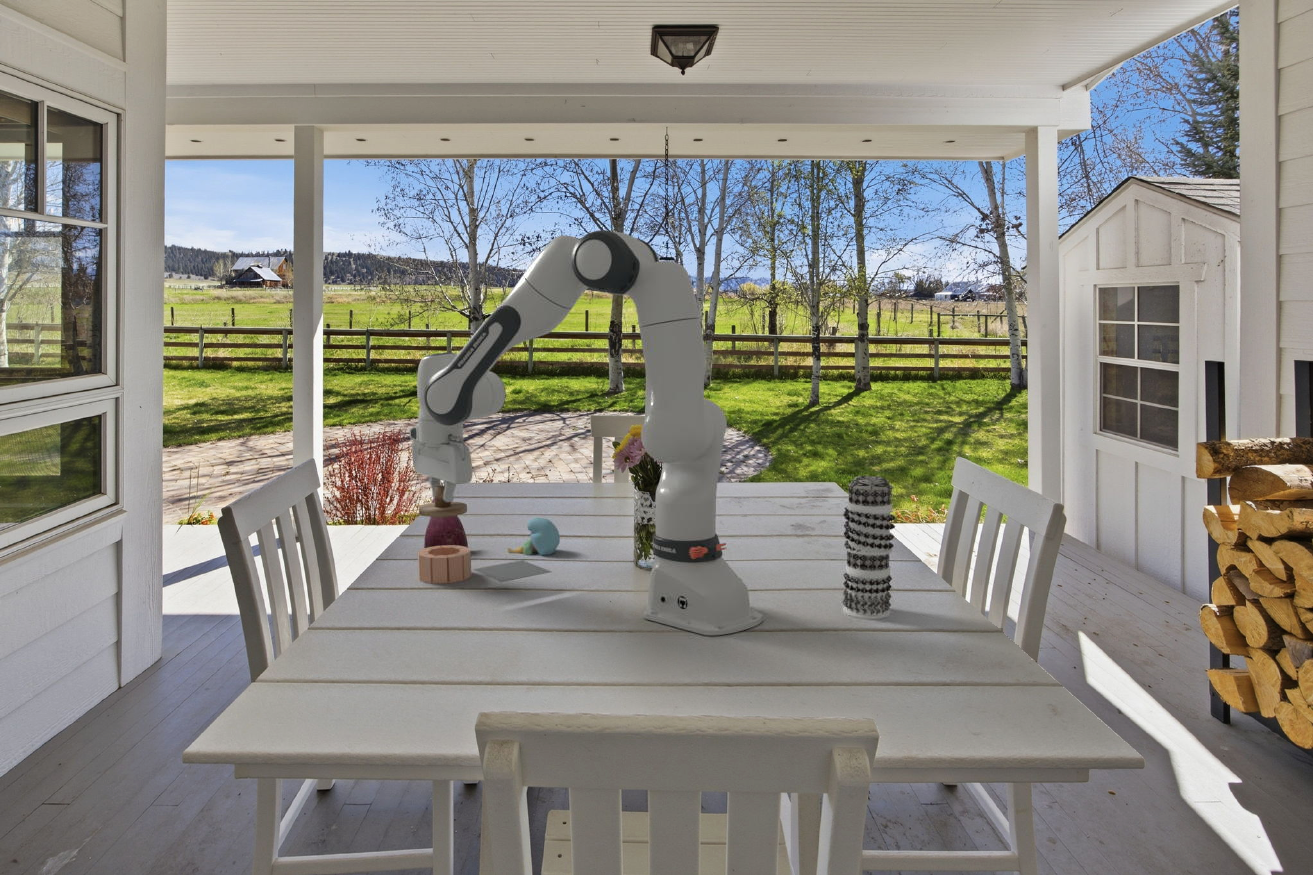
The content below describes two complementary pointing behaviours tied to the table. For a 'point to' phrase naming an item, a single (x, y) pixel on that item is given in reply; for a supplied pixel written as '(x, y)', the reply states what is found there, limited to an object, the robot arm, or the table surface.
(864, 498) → the decorative candle
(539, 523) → the toy flower bud
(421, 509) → the lid
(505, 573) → the mat
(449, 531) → the vegetable
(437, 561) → the faceted hollow tube
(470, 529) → the table surface
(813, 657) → the table surface
